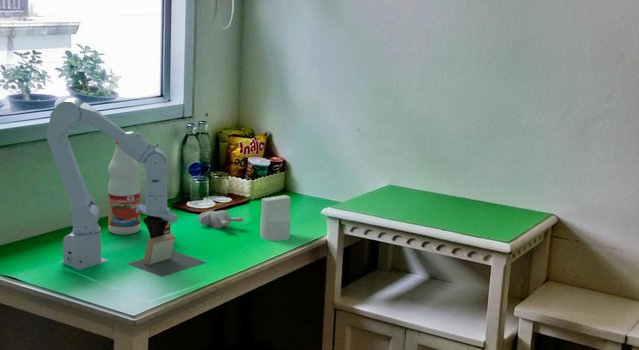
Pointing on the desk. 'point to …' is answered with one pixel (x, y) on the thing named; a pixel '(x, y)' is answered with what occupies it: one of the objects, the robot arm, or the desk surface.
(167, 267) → the mat
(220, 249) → the desk surface
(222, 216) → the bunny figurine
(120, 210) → the fruit juice
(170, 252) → the block
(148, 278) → the desk surface
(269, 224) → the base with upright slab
